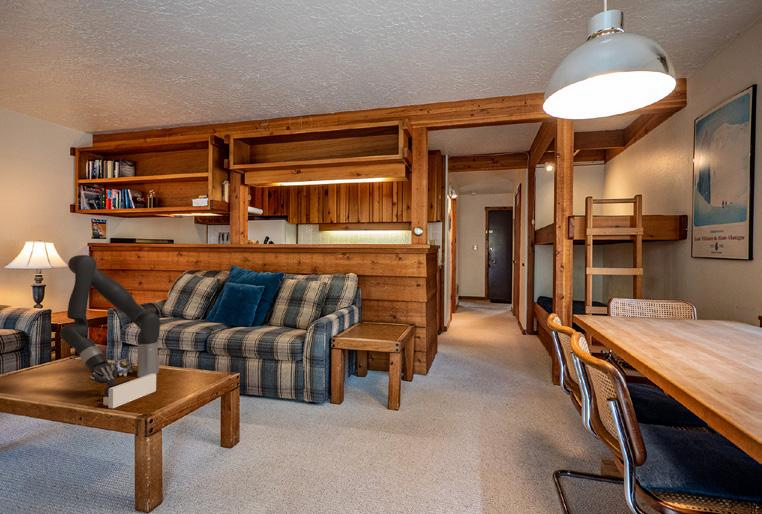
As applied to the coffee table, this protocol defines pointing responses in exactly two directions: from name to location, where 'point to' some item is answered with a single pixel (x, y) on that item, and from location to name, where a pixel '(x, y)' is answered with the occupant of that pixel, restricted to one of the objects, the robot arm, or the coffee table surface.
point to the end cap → (111, 387)
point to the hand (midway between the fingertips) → (114, 387)
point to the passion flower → (123, 366)
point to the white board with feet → (130, 391)
